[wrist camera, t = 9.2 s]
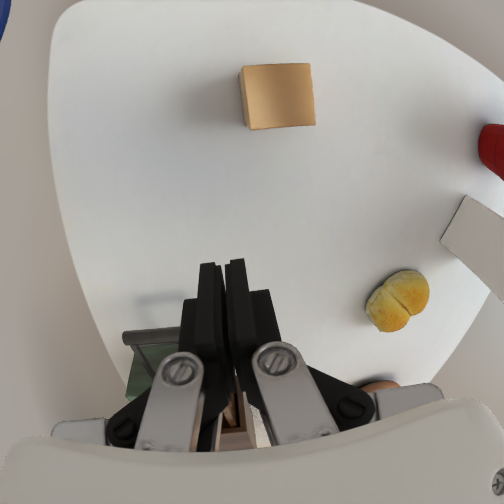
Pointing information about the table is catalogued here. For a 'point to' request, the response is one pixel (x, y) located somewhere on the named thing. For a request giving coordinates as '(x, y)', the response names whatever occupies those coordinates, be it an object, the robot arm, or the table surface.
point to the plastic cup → (492, 148)
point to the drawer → (150, 360)
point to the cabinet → (240, 435)
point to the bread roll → (398, 300)
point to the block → (277, 95)
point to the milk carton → (478, 242)
